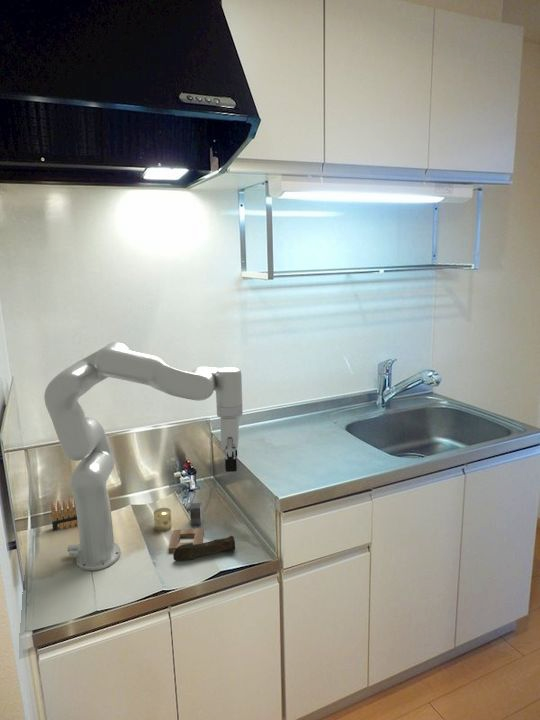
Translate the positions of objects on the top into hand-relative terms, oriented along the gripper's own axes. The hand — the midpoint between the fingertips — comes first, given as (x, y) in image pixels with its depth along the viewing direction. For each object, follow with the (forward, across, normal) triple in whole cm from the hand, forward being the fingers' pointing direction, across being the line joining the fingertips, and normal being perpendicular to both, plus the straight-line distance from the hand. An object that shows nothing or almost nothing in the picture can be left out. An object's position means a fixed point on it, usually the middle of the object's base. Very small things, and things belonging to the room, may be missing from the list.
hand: (231, 463), depth 136 cm
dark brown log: (+32, +1, -4) cm, 33 cm away
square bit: (+29, -16, -14) cm, 36 cm away
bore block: (+29, -5, -16) cm, 34 cm away
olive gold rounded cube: (+29, -14, -25) cm, 41 cm away
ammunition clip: (+30, -15, -56) cm, 66 cm away
